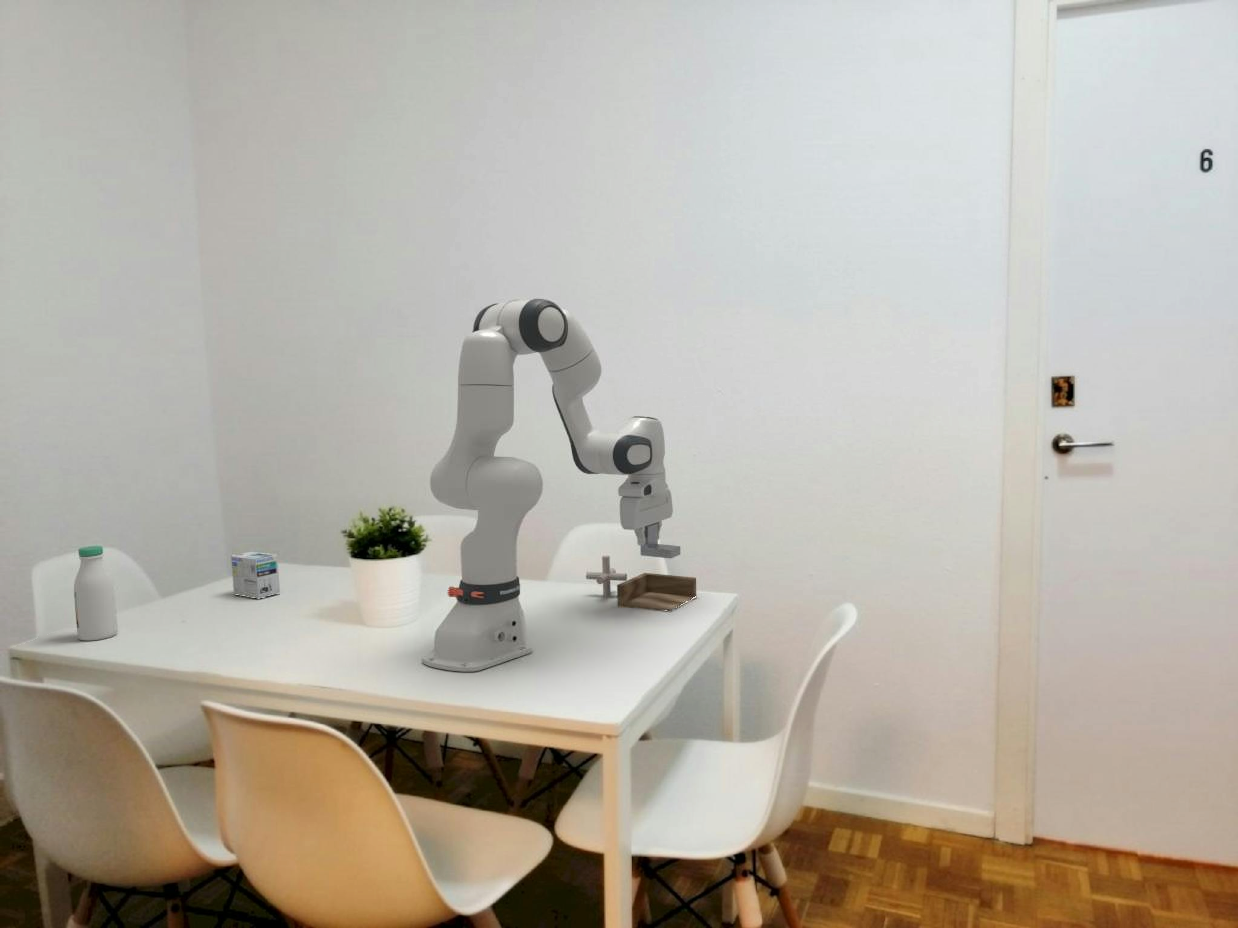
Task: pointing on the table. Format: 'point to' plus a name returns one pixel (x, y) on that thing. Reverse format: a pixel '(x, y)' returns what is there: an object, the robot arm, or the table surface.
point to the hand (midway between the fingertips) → (648, 542)
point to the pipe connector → (606, 576)
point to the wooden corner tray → (656, 591)
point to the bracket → (652, 544)
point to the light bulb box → (255, 574)
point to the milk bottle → (94, 597)
